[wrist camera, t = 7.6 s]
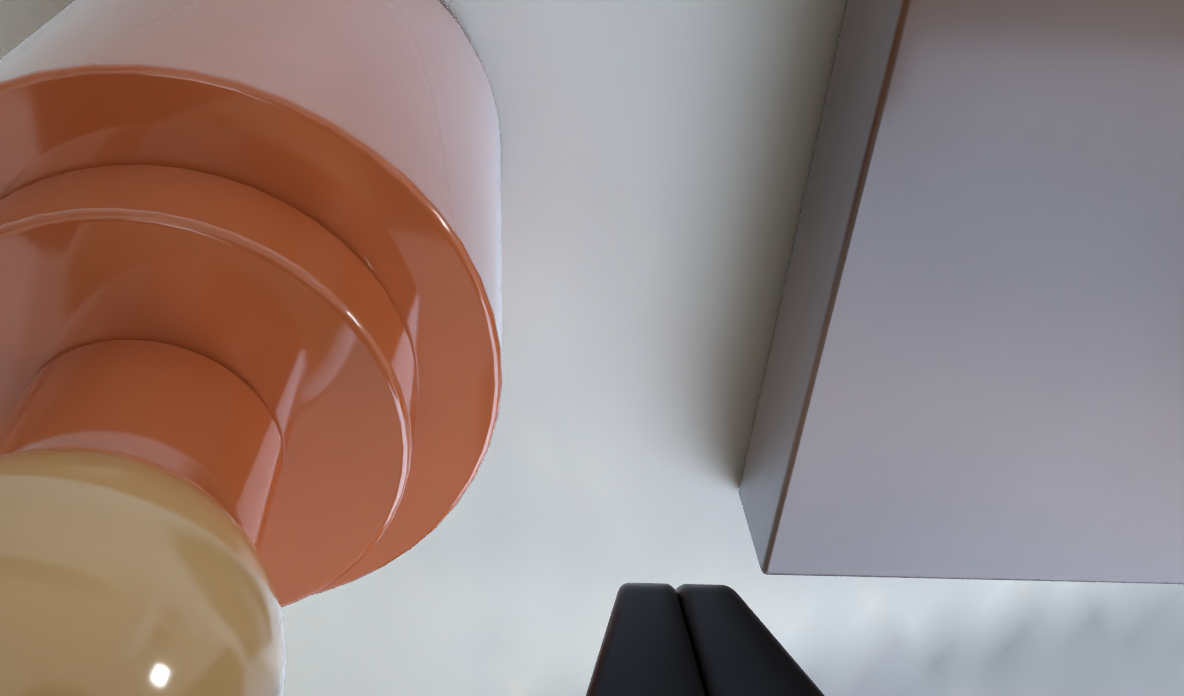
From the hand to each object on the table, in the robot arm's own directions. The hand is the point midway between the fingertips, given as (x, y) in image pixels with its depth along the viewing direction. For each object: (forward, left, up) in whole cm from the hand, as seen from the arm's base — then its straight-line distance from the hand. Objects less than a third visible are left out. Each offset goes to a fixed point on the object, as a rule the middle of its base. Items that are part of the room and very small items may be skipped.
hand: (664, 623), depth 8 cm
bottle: (0, 0, -6) cm, 6 cm away
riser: (0, -8, -9) cm, 12 cm away
